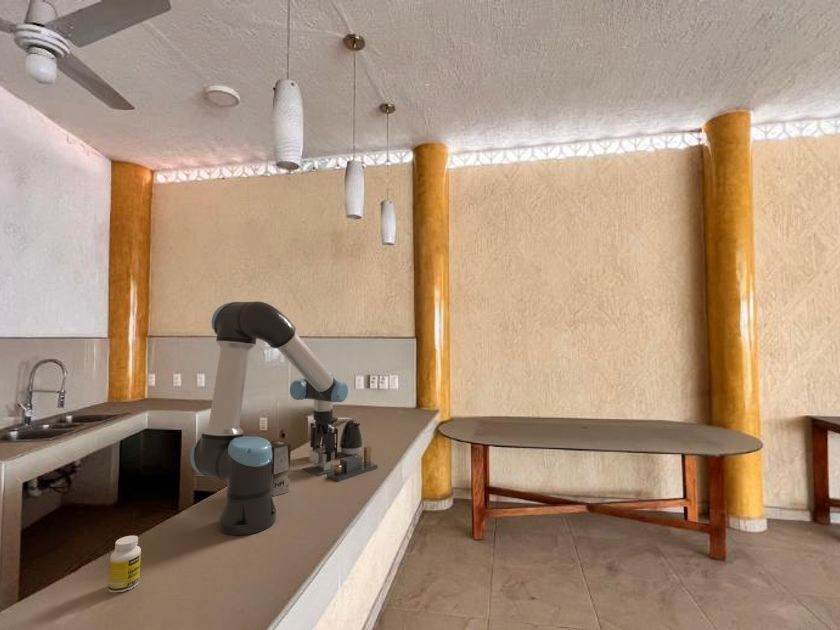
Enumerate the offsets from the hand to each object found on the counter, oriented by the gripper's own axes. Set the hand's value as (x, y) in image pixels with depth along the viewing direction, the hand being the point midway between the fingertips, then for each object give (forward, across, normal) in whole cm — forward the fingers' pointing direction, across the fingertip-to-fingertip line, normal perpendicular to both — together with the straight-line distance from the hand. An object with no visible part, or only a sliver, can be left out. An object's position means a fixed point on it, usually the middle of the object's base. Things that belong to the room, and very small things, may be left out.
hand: (322, 467), depth 163 cm
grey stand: (+1, -12, -6) cm, 13 cm away
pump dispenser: (+1, +8, -22) cm, 23 cm away
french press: (+1, +12, -11) cm, 16 cm away
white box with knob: (-3, 0, 0) cm, 3 cm away
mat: (+1, 0, 0) cm, 1 cm away
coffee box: (+1, -6, +24) cm, 25 cm away
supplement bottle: (0, -30, +74) cm, 80 cm away
